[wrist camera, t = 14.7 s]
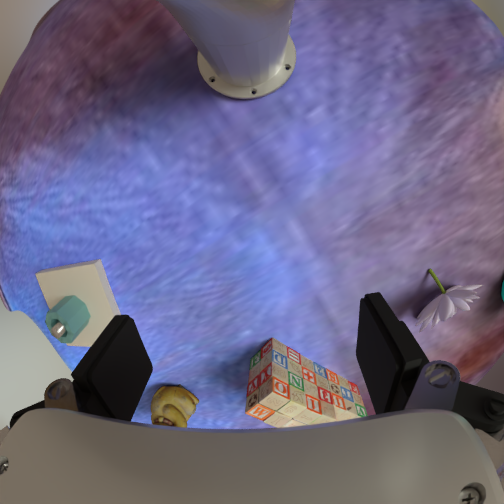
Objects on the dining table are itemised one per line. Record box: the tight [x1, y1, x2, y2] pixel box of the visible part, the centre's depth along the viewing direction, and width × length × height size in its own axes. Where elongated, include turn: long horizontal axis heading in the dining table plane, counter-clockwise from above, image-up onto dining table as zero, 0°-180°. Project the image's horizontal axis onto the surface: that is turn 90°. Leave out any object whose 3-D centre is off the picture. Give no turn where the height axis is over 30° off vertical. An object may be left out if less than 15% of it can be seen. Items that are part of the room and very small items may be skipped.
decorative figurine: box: [151, 384, 199, 428], centre depth 43 cm, size 10×8×15 cm
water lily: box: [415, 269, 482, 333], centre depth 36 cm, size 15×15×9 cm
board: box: [36, 259, 121, 347], centre depth 40 cm, size 16×16×10 cm
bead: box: [45, 295, 91, 343], centre depth 39 cm, size 6×6×6 cm
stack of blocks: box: [245, 338, 367, 428], centre depth 41 cm, size 21×6×12 cm, turn 54°
